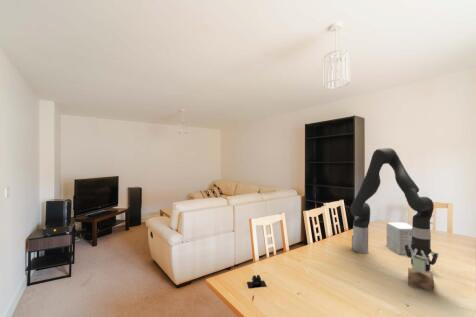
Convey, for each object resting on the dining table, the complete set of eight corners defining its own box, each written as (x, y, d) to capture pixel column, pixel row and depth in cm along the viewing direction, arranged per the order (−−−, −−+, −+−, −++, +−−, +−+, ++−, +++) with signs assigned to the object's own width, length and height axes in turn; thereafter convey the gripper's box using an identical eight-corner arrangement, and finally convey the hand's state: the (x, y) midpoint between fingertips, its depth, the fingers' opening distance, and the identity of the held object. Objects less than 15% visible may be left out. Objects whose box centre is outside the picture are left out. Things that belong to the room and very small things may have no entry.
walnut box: (408, 285, 114) (408, 275, 114) (408, 276, 122) (408, 267, 122) (434, 292, 108) (434, 282, 108) (432, 283, 116) (432, 273, 116)
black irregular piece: (266, 280, 120) (266, 272, 120) (270, 288, 113) (270, 279, 113) (243, 282, 118) (243, 274, 118) (246, 291, 111) (246, 282, 111)
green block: (412, 268, 116) (412, 257, 115) (416, 266, 118) (416, 255, 118) (424, 273, 111) (424, 261, 111) (428, 270, 114) (428, 258, 114)
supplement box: (419, 254, 147) (419, 228, 146) (398, 254, 147) (399, 228, 146) (404, 246, 160) (404, 222, 159) (385, 246, 160) (386, 222, 160)
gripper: (401, 233, 119) (401, 264, 119) (435, 242, 106) (435, 277, 107) (407, 230, 122) (407, 261, 123) (441, 238, 110) (441, 272, 111)
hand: (420, 268), depth 115 cm, fingers closed on green block, 5 cm apart
